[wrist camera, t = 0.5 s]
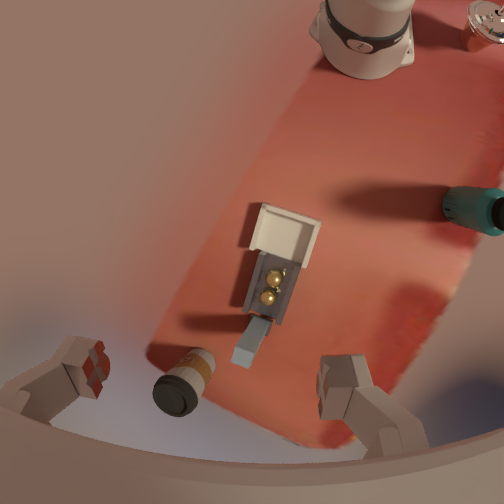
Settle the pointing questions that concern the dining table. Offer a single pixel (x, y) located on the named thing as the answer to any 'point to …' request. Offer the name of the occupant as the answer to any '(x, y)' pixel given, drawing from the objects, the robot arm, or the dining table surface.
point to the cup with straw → (483, 26)
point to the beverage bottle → (476, 208)
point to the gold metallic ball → (273, 278)
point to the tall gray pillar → (251, 340)
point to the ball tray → (285, 233)
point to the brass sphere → (268, 297)
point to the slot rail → (258, 284)
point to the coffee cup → (184, 383)
